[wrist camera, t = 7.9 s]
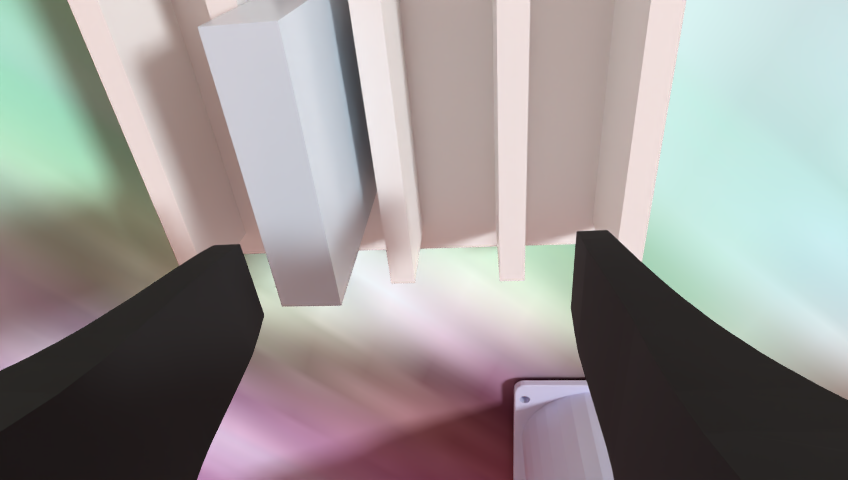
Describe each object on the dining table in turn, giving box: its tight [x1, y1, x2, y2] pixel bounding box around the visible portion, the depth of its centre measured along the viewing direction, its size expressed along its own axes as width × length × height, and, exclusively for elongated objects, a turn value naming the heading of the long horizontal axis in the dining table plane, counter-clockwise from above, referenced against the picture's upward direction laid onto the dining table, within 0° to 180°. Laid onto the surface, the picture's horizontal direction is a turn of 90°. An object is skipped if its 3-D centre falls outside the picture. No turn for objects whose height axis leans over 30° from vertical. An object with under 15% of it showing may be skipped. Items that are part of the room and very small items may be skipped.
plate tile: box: [198, 0, 377, 306], centre depth 15 cm, size 7×2×7 cm, turn 5°
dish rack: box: [68, 0, 686, 284], centre depth 17 cm, size 13×16×4 cm
